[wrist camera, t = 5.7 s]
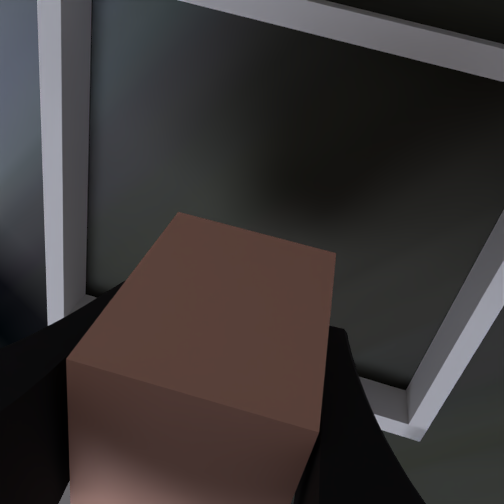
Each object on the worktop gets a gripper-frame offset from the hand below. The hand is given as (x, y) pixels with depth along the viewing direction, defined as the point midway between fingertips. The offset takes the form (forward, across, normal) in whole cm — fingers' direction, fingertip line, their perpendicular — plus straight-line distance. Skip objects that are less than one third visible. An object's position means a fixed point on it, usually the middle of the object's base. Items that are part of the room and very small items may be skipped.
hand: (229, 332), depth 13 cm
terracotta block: (+2, 0, 0) cm, 2 cm away
